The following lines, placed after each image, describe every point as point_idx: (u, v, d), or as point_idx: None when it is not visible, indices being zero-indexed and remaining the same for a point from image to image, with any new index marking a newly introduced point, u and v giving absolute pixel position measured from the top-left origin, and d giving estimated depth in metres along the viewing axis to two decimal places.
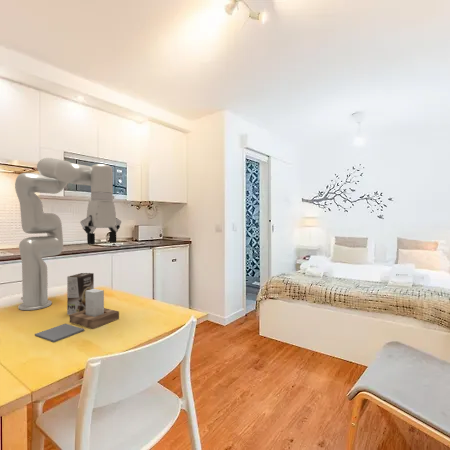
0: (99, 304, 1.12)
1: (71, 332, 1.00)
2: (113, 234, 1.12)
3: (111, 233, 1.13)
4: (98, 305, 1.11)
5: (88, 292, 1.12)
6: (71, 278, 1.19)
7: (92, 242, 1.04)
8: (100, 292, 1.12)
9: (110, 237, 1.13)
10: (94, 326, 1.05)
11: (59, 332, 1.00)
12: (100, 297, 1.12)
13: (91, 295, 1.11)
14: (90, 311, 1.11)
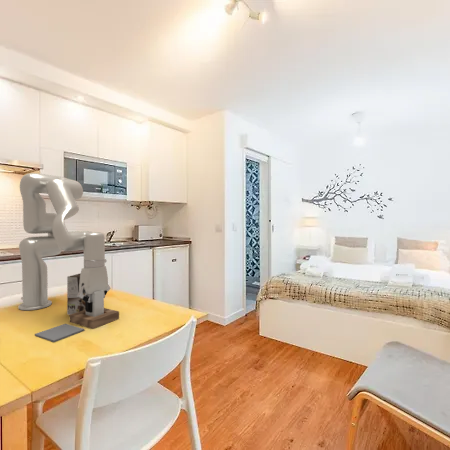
0: (99, 304, 1.12)
1: (71, 332, 1.00)
2: None
3: None
4: (98, 305, 1.11)
5: None
6: (71, 278, 1.19)
7: (90, 310, 1.10)
8: (100, 292, 1.12)
9: None
10: (94, 326, 1.05)
11: (59, 332, 1.00)
12: (100, 297, 1.12)
13: None
14: None
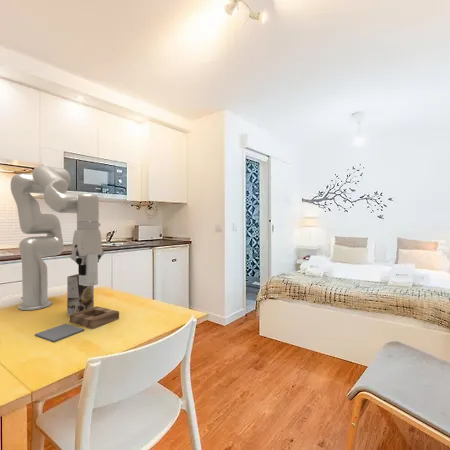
0: (93, 268, 1.09)
1: (71, 332, 1.00)
2: None
3: None
4: (92, 268, 1.08)
5: None
6: (71, 278, 1.19)
7: (83, 273, 1.07)
8: (94, 255, 1.09)
9: None
10: (94, 326, 1.05)
11: (59, 332, 1.00)
12: (93, 260, 1.09)
13: None
14: None
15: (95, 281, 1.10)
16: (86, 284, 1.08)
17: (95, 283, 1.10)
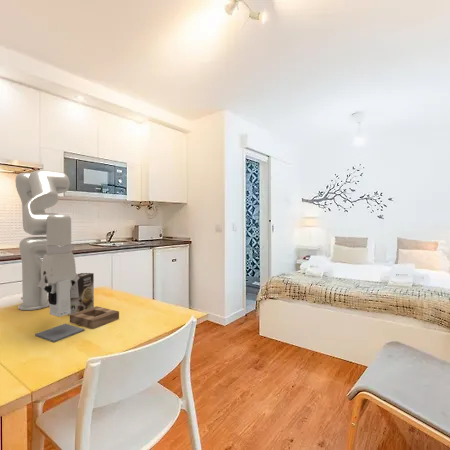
0: (64, 296, 0.99)
1: (71, 332, 1.00)
2: None
3: None
4: (63, 296, 0.99)
5: None
6: None
7: (53, 302, 0.97)
8: (65, 282, 0.99)
9: None
10: (94, 326, 1.05)
11: (59, 332, 1.00)
12: (65, 287, 0.99)
13: None
14: None
15: (68, 310, 1.00)
16: (57, 314, 0.98)
17: (67, 312, 1.00)
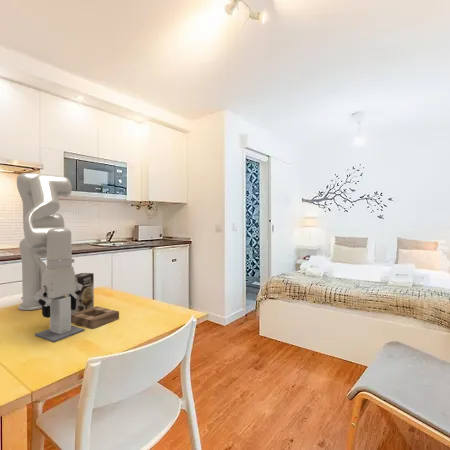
0: (65, 313, 1.00)
1: (71, 332, 1.00)
2: (72, 301, 1.04)
3: None
4: (64, 314, 0.99)
5: (53, 299, 1.00)
6: None
7: (47, 315, 0.96)
8: (66, 299, 1.00)
9: None
10: (94, 326, 1.05)
11: None
12: (66, 305, 1.00)
13: (56, 302, 0.98)
14: (55, 320, 0.99)
15: (68, 327, 1.01)
16: (57, 332, 0.98)
17: (68, 329, 1.01)
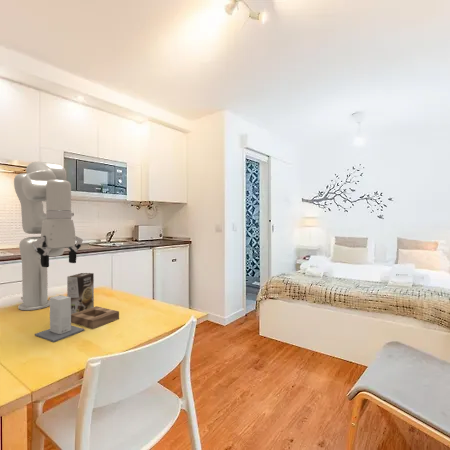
0: (65, 313, 1.00)
1: (71, 332, 1.00)
2: (72, 254, 1.04)
3: (70, 253, 1.04)
4: (64, 314, 0.99)
5: (52, 299, 1.00)
6: (71, 278, 1.19)
7: (46, 265, 0.95)
8: (66, 299, 1.00)
9: (69, 257, 1.05)
10: (94, 326, 1.05)
11: None
12: (66, 305, 1.00)
13: (56, 302, 0.98)
14: (55, 320, 0.99)
15: (68, 327, 1.01)
16: (57, 332, 0.98)
17: (68, 329, 1.01)
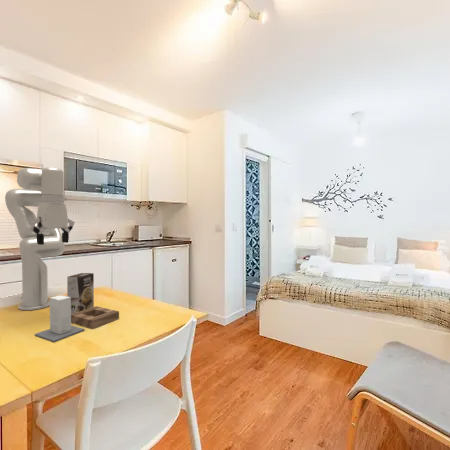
0: (65, 313, 1.00)
1: (71, 332, 1.00)
2: (65, 235, 1.17)
3: (63, 234, 1.17)
4: (64, 314, 0.99)
5: (52, 299, 1.00)
6: (71, 278, 1.19)
7: (41, 242, 1.08)
8: (66, 299, 1.00)
9: (62, 237, 1.18)
10: (94, 326, 1.05)
11: None
12: (66, 305, 1.00)
13: (56, 302, 0.98)
14: (55, 320, 0.99)
15: (68, 327, 1.01)
16: (57, 332, 0.98)
17: (68, 329, 1.01)
